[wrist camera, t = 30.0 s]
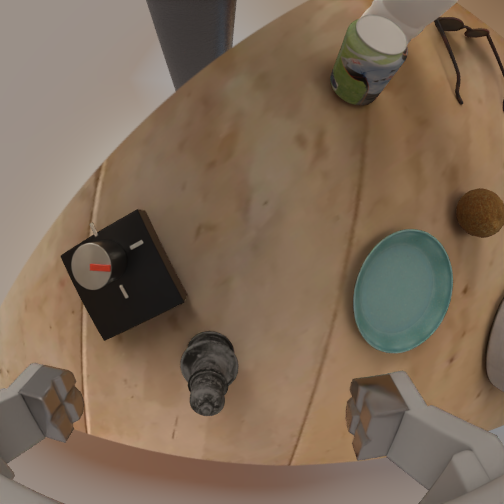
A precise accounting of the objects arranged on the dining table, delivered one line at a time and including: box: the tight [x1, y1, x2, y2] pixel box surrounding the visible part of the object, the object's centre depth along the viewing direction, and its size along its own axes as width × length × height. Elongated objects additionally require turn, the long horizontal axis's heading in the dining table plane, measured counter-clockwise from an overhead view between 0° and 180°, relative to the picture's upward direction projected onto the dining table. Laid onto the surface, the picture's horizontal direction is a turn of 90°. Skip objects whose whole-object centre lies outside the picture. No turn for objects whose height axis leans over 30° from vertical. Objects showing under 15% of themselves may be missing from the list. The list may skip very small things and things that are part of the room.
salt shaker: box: [180, 331, 238, 416], centre depth 27 cm, size 6×6×12 cm
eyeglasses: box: [434, 17, 504, 111], centre depth 31 cm, size 15×15×5 cm
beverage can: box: [330, 14, 408, 105], centre depth 26 cm, size 6×7×12 cm
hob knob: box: [71, 240, 127, 290], centre depth 26 cm, size 4×4×5 cm
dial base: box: [61, 209, 187, 341], centre depth 30 cm, size 11×10×3 cm
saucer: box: [353, 229, 453, 353], centre depth 33 cm, size 15×15×3 cm
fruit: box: [456, 188, 504, 238], centre depth 31 cm, size 6×6×8 cm
